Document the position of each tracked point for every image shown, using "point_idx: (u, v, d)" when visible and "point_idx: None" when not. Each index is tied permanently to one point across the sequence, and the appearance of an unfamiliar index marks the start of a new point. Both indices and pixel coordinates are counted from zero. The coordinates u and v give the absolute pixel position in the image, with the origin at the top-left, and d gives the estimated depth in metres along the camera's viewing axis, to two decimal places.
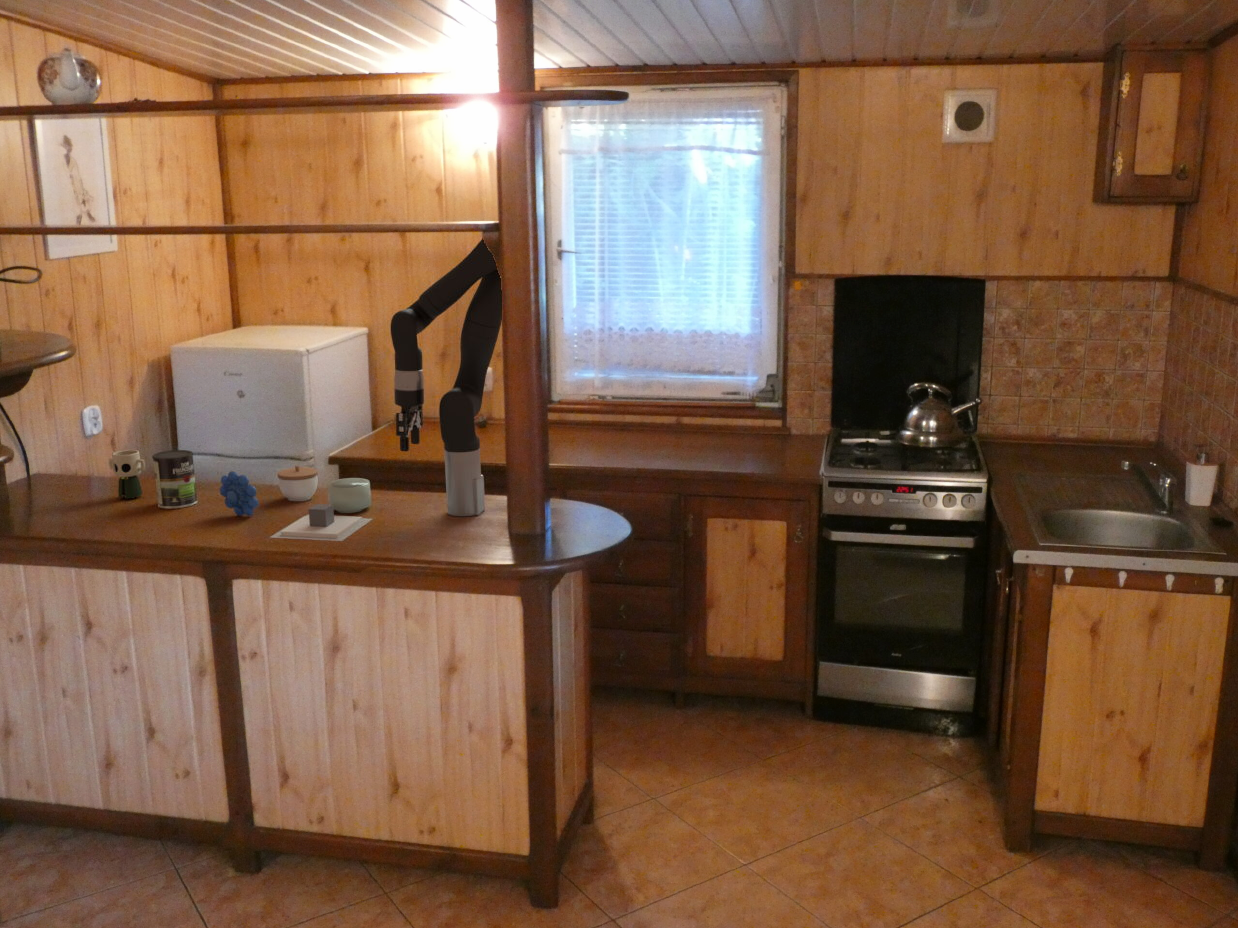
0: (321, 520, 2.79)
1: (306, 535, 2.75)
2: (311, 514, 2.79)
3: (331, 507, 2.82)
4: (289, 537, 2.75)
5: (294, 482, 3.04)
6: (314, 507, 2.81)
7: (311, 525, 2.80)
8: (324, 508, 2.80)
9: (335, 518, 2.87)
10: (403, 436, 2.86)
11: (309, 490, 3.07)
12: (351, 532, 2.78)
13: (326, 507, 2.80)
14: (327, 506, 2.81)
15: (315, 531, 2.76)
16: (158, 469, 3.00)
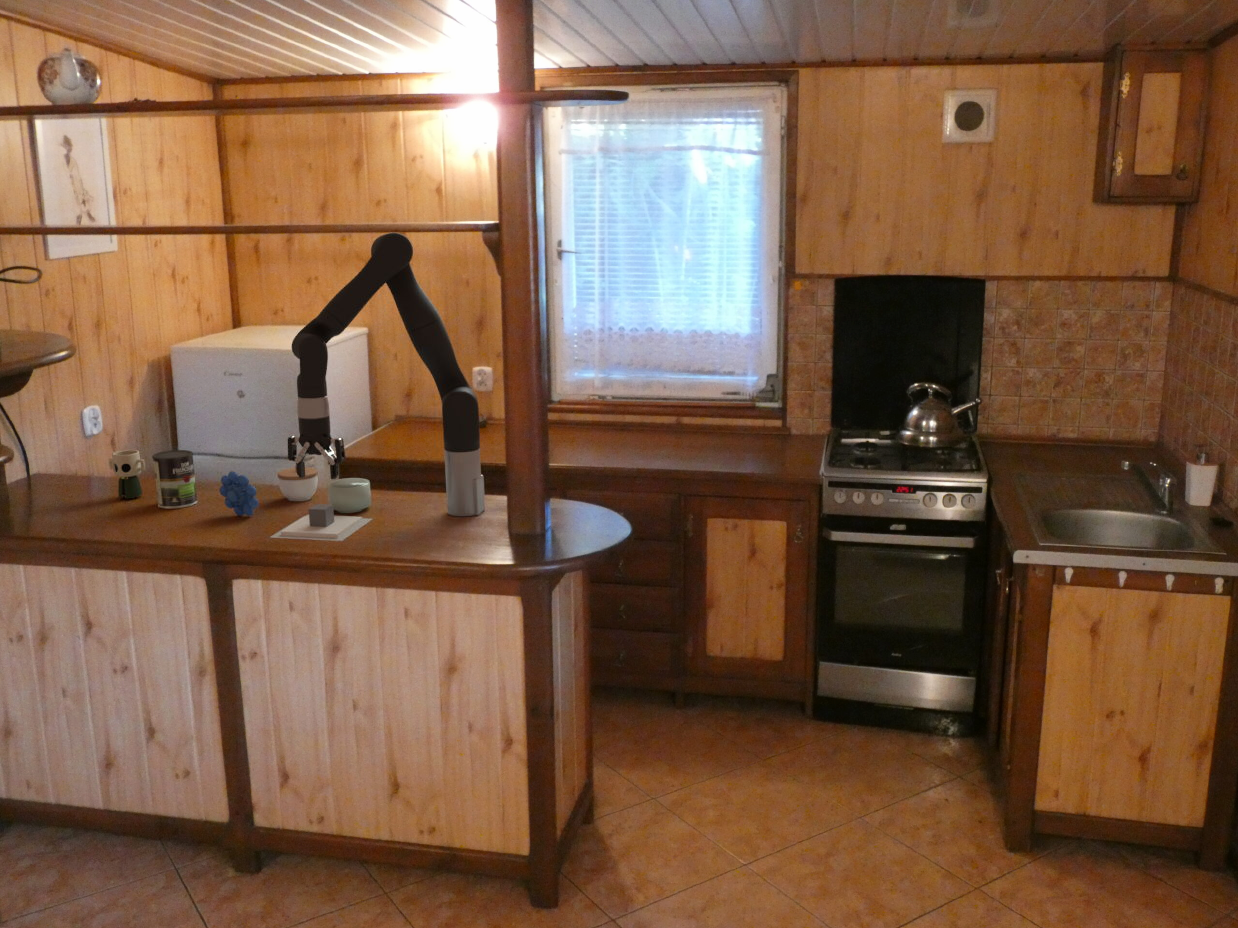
0: (321, 520, 2.79)
1: (306, 535, 2.75)
2: (311, 514, 2.79)
3: (331, 507, 2.82)
4: (289, 537, 2.75)
5: (294, 482, 3.04)
6: (314, 507, 2.81)
7: (311, 525, 2.80)
8: (324, 508, 2.80)
9: (335, 518, 2.87)
10: None
11: (309, 490, 3.07)
12: (351, 532, 2.78)
13: (326, 507, 2.80)
14: (327, 506, 2.81)
15: (315, 531, 2.76)
16: (158, 469, 3.00)
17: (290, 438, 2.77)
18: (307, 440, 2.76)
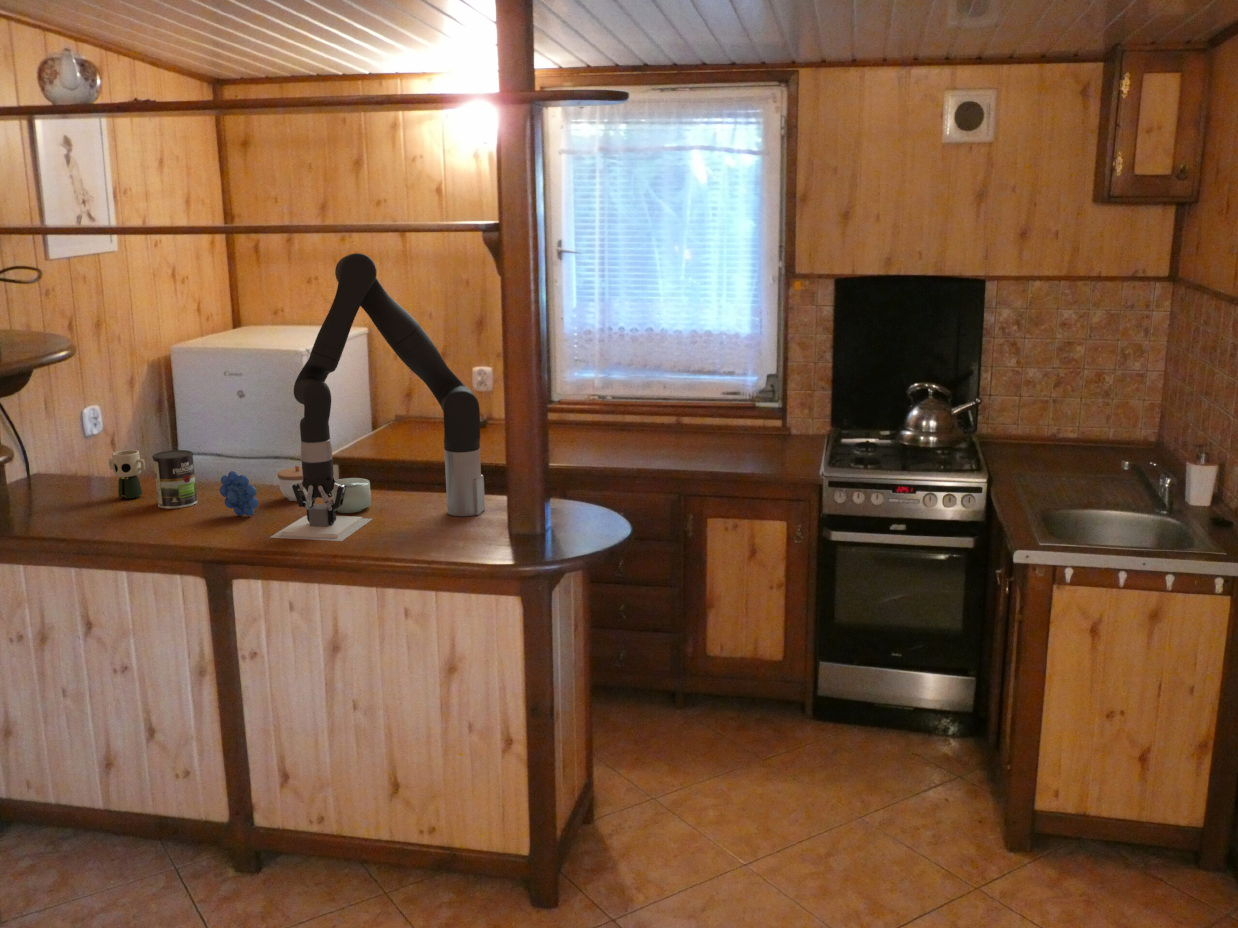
0: (321, 520, 2.79)
1: (306, 535, 2.75)
2: (311, 514, 2.79)
3: None
4: (289, 537, 2.75)
5: (294, 482, 3.04)
6: (314, 507, 2.81)
7: (311, 525, 2.80)
8: (324, 508, 2.80)
9: None
10: None
11: None
12: (351, 532, 2.78)
13: (326, 507, 2.80)
14: None
15: (315, 531, 2.76)
16: (158, 469, 3.00)
17: (294, 485, 2.80)
18: (310, 484, 2.79)
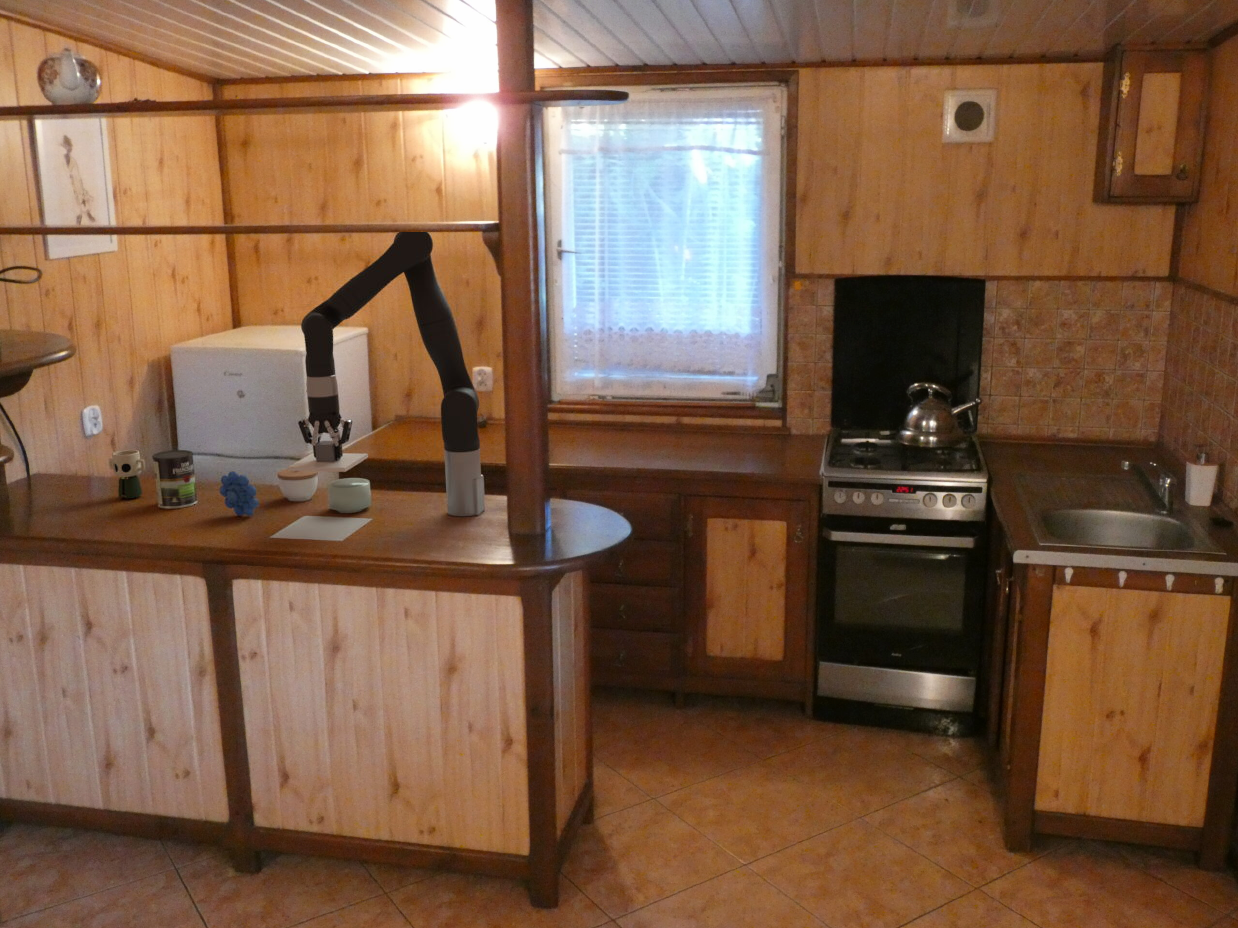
0: (328, 455, 2.81)
1: (313, 470, 2.76)
2: (318, 450, 2.81)
3: None
4: (289, 537, 2.75)
5: (294, 482, 3.04)
6: (320, 443, 2.82)
7: (318, 461, 2.81)
8: (330, 444, 2.81)
9: None
10: None
11: (309, 490, 3.07)
12: (351, 532, 2.78)
13: (332, 443, 2.82)
14: None
15: (322, 466, 2.77)
16: (158, 469, 3.00)
17: (300, 421, 2.81)
18: (316, 419, 2.80)
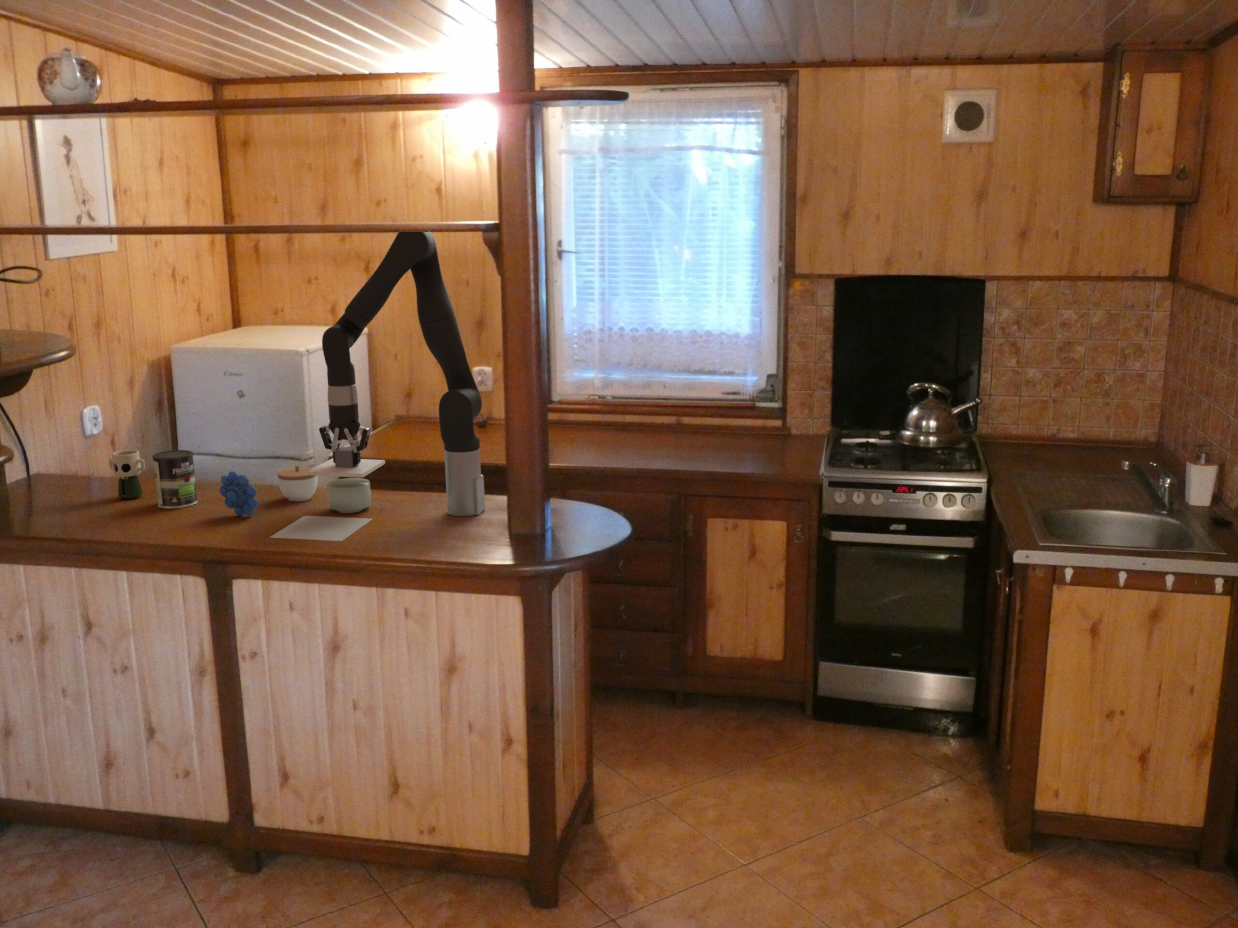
0: (347, 461, 2.93)
1: (332, 475, 2.89)
2: (337, 456, 2.93)
3: None
4: (289, 537, 2.75)
5: (294, 482, 3.04)
6: (340, 449, 2.94)
7: (337, 466, 2.94)
8: (349, 450, 2.93)
9: None
10: None
11: (309, 490, 3.07)
12: (351, 532, 2.78)
13: (351, 449, 2.94)
14: None
15: (341, 471, 2.90)
16: (158, 469, 3.00)
17: (321, 428, 2.93)
18: (336, 426, 2.92)
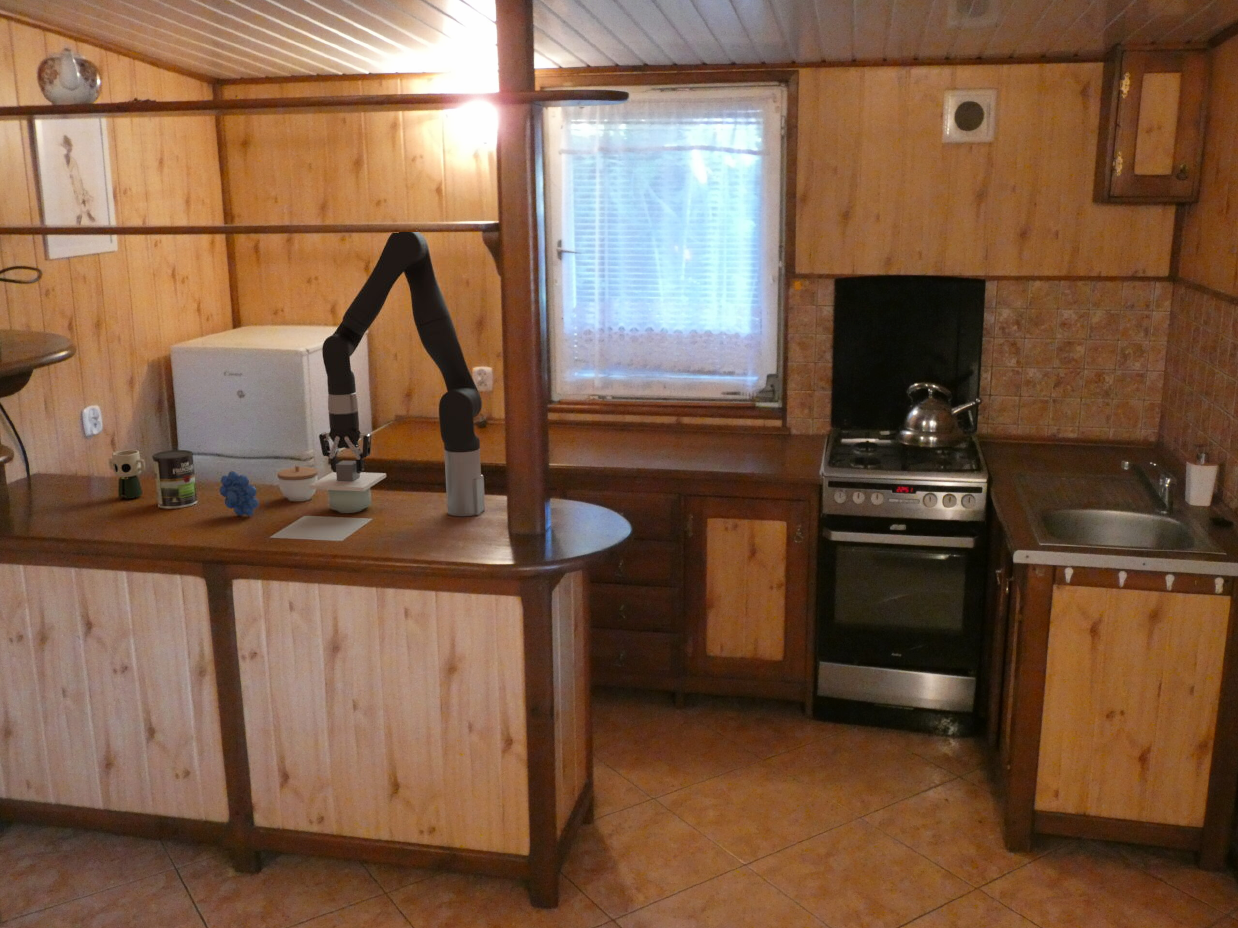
0: (348, 475, 2.94)
1: (334, 489, 2.90)
2: (338, 469, 2.94)
3: None
4: (289, 537, 2.75)
5: (294, 482, 3.04)
6: (341, 463, 2.95)
7: (338, 480, 2.95)
8: (350, 464, 2.94)
9: (360, 474, 3.01)
10: None
11: (309, 490, 3.07)
12: (351, 532, 2.78)
13: (352, 463, 2.95)
14: (353, 462, 2.96)
15: (342, 485, 2.90)
16: (158, 469, 3.00)
17: (321, 435, 2.94)
18: (337, 435, 2.93)
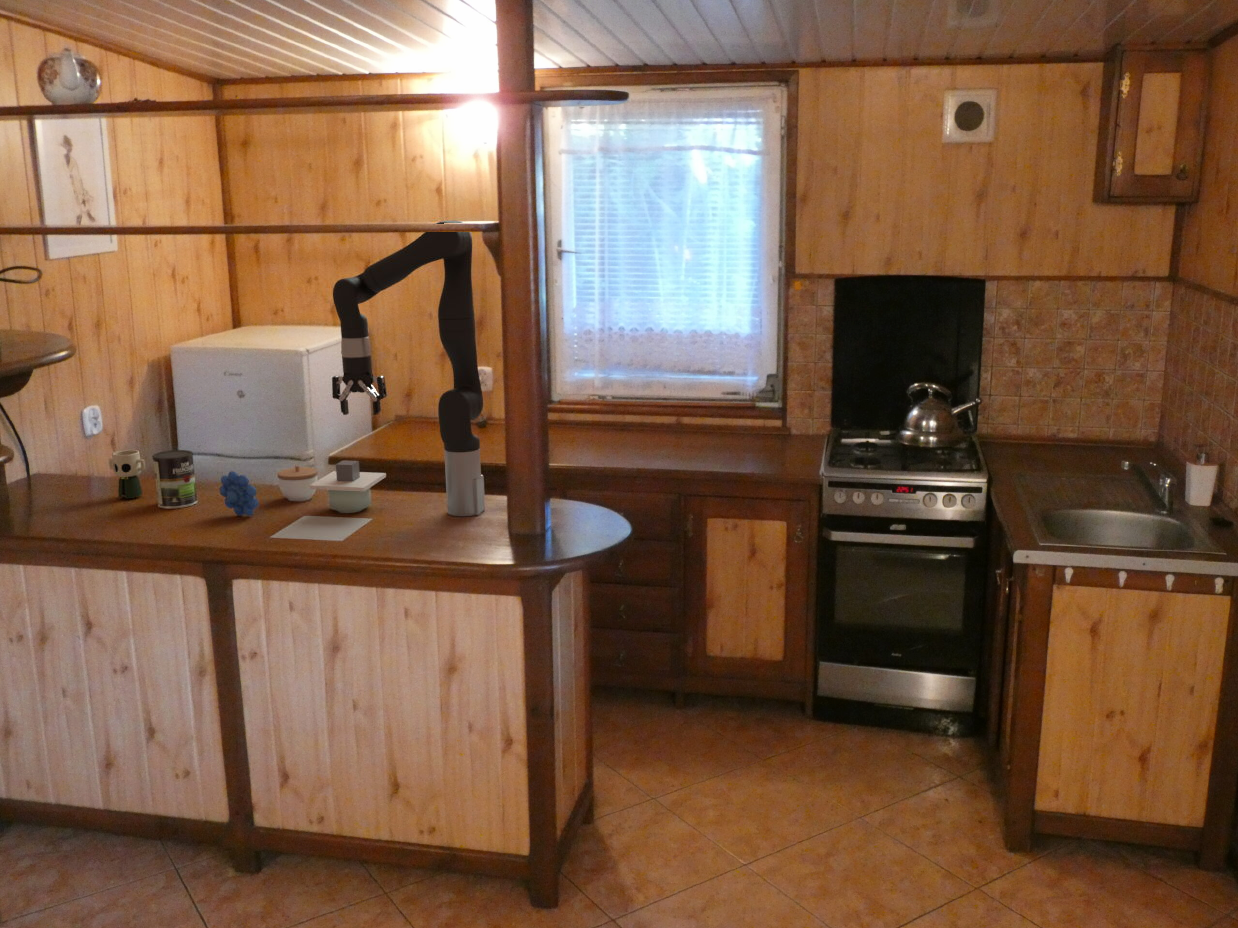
0: (348, 475, 2.94)
1: (334, 489, 2.90)
2: (338, 469, 2.94)
3: (357, 463, 2.96)
4: (289, 537, 2.75)
5: (294, 482, 3.04)
6: (341, 463, 2.95)
7: (338, 480, 2.95)
8: (350, 464, 2.94)
9: (360, 474, 3.01)
10: None
11: (309, 490, 3.07)
12: (351, 532, 2.78)
13: (352, 463, 2.95)
14: (353, 462, 2.96)
15: (342, 485, 2.90)
16: (158, 469, 3.00)
17: (334, 377, 2.96)
18: (351, 379, 2.95)
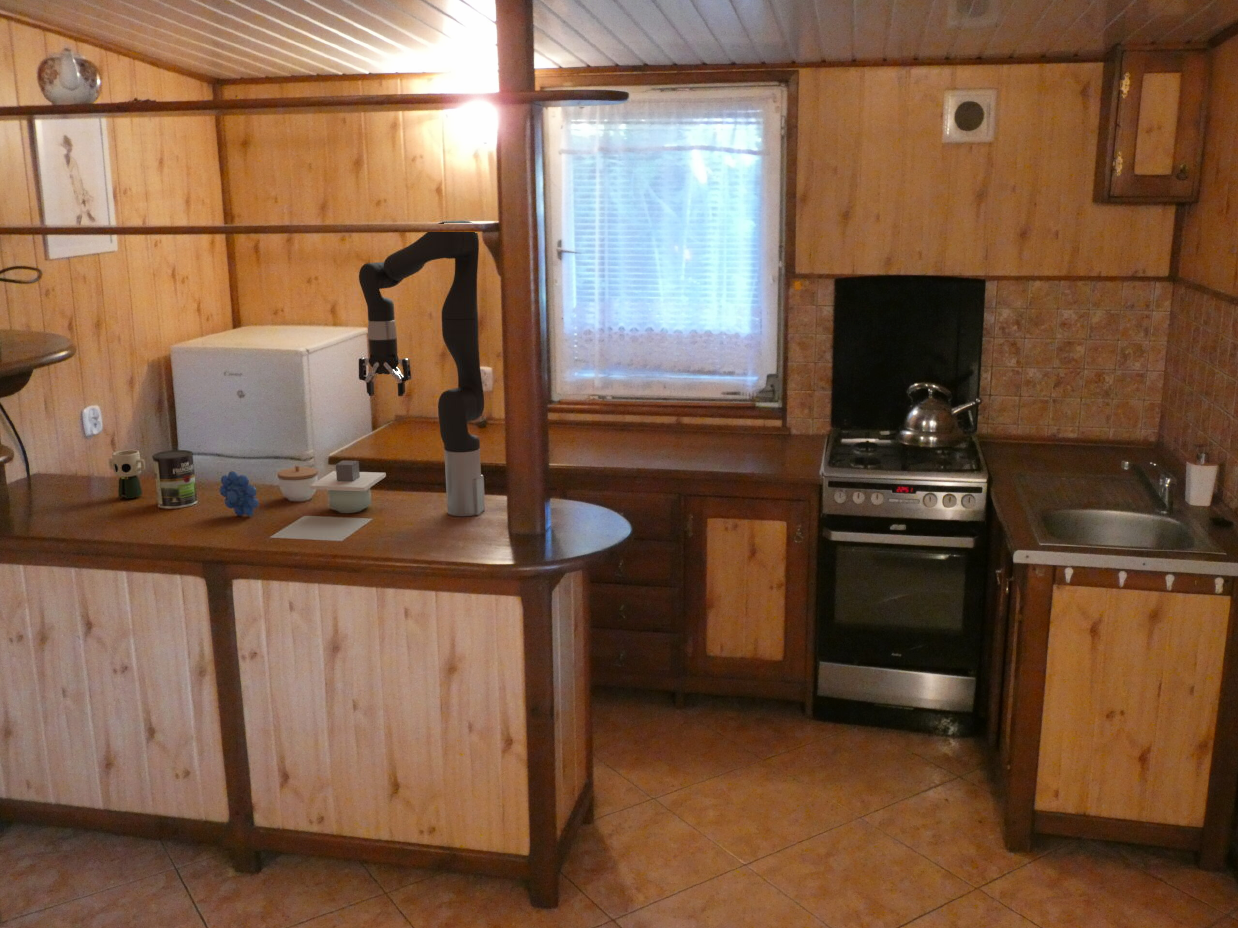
0: (348, 475, 2.94)
1: (334, 489, 2.90)
2: (338, 469, 2.94)
3: (357, 463, 2.96)
4: (289, 537, 2.75)
5: (294, 482, 3.04)
6: (341, 463, 2.95)
7: (338, 480, 2.95)
8: (350, 464, 2.94)
9: (360, 474, 3.01)
10: None
11: (309, 490, 3.07)
12: (351, 532, 2.78)
13: (352, 463, 2.95)
14: (353, 462, 2.96)
15: (343, 485, 2.90)
16: (158, 469, 3.00)
17: (361, 359, 3.05)
18: (376, 361, 3.04)
